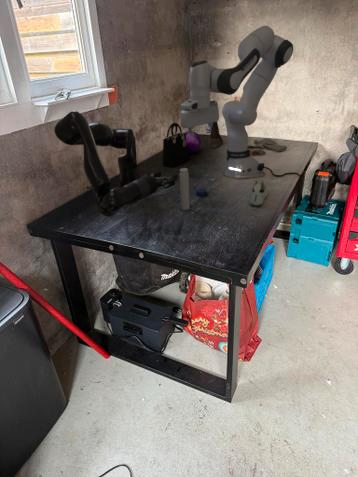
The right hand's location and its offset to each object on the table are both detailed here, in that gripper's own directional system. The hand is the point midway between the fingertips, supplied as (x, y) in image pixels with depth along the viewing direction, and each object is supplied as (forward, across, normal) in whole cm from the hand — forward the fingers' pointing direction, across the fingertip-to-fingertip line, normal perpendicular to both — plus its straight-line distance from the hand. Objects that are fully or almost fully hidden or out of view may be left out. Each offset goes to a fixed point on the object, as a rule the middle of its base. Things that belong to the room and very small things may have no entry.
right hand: (200, 134), depth 152 cm
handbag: (+30, -23, -53) cm, 65 cm away
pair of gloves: (+30, -82, -33) cm, 93 cm away
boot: (+30, -72, -67) cm, 102 cm away
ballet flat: (+30, -17, +22) cm, 41 cm away
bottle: (+30, +16, +7) cm, 35 cm away
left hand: (+10, +27, +10) cm, 30 cm away
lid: (+28, 0, 0) cm, 28 cm away
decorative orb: (+30, -43, -63) cm, 82 cm away
